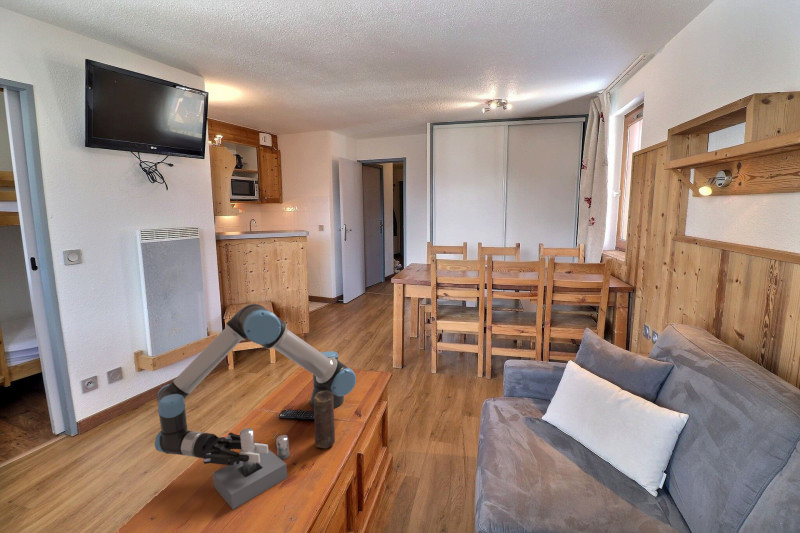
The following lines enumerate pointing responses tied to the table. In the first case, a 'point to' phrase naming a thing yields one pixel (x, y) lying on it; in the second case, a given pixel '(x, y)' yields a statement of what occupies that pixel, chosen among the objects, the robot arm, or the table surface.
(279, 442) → the short pin
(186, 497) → the table surface
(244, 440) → the long pin
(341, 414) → the table surface
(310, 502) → the table surface
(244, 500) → the guide block
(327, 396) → the brown textured cylinder
